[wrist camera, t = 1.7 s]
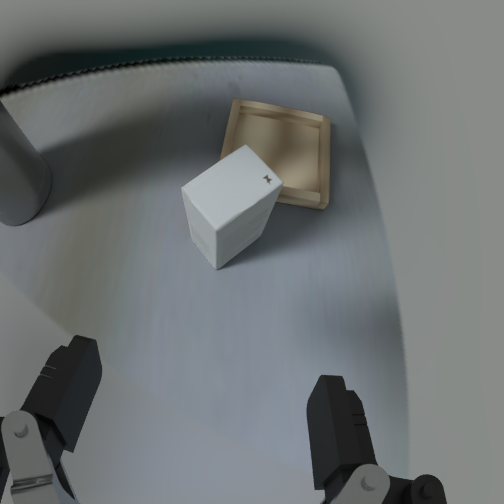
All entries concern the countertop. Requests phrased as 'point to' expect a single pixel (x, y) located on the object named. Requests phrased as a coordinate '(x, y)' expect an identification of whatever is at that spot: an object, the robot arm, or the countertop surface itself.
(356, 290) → the countertop surface
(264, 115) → the holder
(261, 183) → the skincare box
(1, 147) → the robot arm
